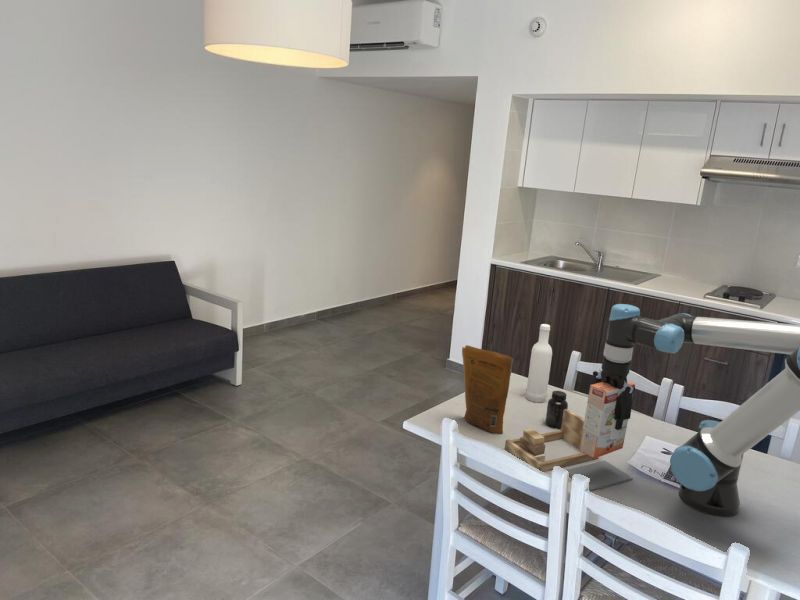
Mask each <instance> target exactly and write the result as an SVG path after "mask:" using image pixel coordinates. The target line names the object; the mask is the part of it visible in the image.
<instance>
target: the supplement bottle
mask: <svg viewBox="0 0 800 600" xmlns="http://www.w3.org/2000/svg"><path fill="white" fill-rule="evenodd" d="M546 405H547V406H546V414H545V424H546V426H547V427H549V428H552V429H556V430H561V426H562V419H563V412H564V409H567V410H569V409H568V408H569V404H568V401H567V393H566V392H565V391H562V390H553V391H552V393H551V397H550V398H549V399H548V401H547V404H546Z"/></svg>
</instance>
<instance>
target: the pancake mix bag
mask: <svg viewBox="0 0 800 600" xmlns="http://www.w3.org/2000/svg"><path fill="white" fill-rule="evenodd" d="M461 355H462V368H463V370H462V371H463V376H464V377H463V381H464V384H463V385H464V393H465V394H464V399H465V408H466V409H465V410H466V411H465V414H464V420H465V422H466V423H468V424H471V425H472V426H475V427H477V428H479V429H482V430H484V431H486V432H488V433H490V434H495V435H496V434H498V435H499V434H504V430H503V429H504V415H505V411H506V406H507V405H506V404H507V398H508V394H509V389H510V388H509V387H510V383H511V382H510V381H511V375H512V372H513V371H512V369H513V363H514V358H513V357H511V356H509V355H507V354H503V353H500V352H496V351H492V350H486V349H483V348H478V347H474V346H471V345H468V344H466V345H465V346H464V347H463V346H462V349H461Z"/></svg>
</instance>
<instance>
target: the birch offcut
mask: <svg viewBox="0 0 800 600" xmlns="http://www.w3.org/2000/svg"><path fill="white" fill-rule="evenodd" d="M520 448H521V447H520ZM522 449H523V448H522ZM523 450H524V449H523ZM525 451H526V450H525ZM526 452H527V451H526ZM527 453H529V452H527ZM529 454H530V455H532V454H531V453H529ZM532 456H533V457H534V458H536V459H537V460H539V461H540V462H544V461H546V454H545V453H544V454H541V455H537V456H534V455H532Z"/></svg>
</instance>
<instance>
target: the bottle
mask: <svg viewBox="0 0 800 600" xmlns="http://www.w3.org/2000/svg"><path fill="white" fill-rule="evenodd" d="M550 331H551V325H550V324H548V323H542V324H540V326H539V332H538V333H539V336H538V341H537V342H536V343H535V344H533V346H532V348H531V354H530V360H529V370H528V377H527V386H526V390H525V391H526V392H525V399H526V400H527V401H530V402H532V403H536V404H537V403H538V404H540V403H544V402H546V400H547V397H548V387H549V380H550V373H551V364H552V357H553V348H552V346H551V345H550V344H549V337H550Z"/></svg>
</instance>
